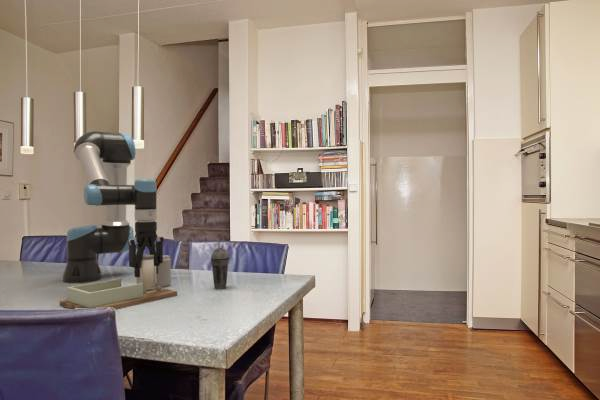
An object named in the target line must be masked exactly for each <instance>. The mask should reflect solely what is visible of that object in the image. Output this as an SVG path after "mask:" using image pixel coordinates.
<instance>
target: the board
mask: <svg viewBox="0 0 600 400" xmlns="http://www.w3.org/2000/svg"><path fill="white" fill-rule="evenodd" d="M176 296H178V291H177V290H173V289H168V288H165V287H161V286H156V285H154V288H152V289H143V297H138V298H134V299H129V300H124V301H120V302H115V303H110V304H105V305H101V306H96V307H113V308H116V309H115V310H118V309H117V308H119V309H123V308H122V307H124V308H127V306H128V307H132V305H133V306H135V305H136V304H137V305H141V303H142V304H145V302H146V303H150V302H154V301H158V300H163V299H167V298H173V297H176ZM137 305H136V306H137ZM59 306H60V307H63V308H67V309H69V310H72V309H75V308H88V307H84V306H81V305H78V304H75V303H72V302H69V301H67V299H63V300H59ZM96 307H91V308H96Z"/></svg>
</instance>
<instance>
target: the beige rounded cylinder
mask: <svg viewBox="0 0 600 400" xmlns="http://www.w3.org/2000/svg"><path fill="white" fill-rule="evenodd" d="M140 268H142V269H143V289H152V288H154V286H155V284H154V255H151V254H150V253H148V254H147V253H146V254H143V257H142V262H141V267H140Z"/></svg>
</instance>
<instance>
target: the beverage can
mask: <svg viewBox="0 0 600 400" xmlns="http://www.w3.org/2000/svg"><path fill="white" fill-rule="evenodd" d="M171 261H172V259H171V257H170V255H168V254H167V255H164V254H163V263H160V265H159V266H158V274H156V284H154V286H155V287H156V286H161V288H165V287H166V288H167V287H169V286H170V285H171V283H172V266H171V265H172V262H171Z"/></svg>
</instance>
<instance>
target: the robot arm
mask: <svg viewBox="0 0 600 400" xmlns="http://www.w3.org/2000/svg"><path fill="white" fill-rule="evenodd" d="M73 153H74V156H75V158H76V159H77V160H78V162H79V163H80V166H81V169H82V173H83V175H84V179H85V182H86V185H85V186H84V188H83V199H84V203H85V204H86V205H87V206H96V207H97V206H98V207H99V206H105V220H104V221H102V223H101V227H98V226H97V225H96V224H89V225H82V226H76V227H71V228H69V229H68V230H67V233H66V265H65V268H64V271H63V275H62V282H63V283H69V284H70V283H71V284H72V283H78V284H79V283H85V282H86V283H90V282H93V281H99V280H101V279H102V277H103V276H102V271H101V269H100V268H101V267H100V265H99V263H98V255H102V254H103V255H105V254H114V253H115V254H116V253H118V254H120V253H126V252H128V265H129V267H131V268H134V277H135V278H136V284H139V283H143V269H142V268H140V267H141V262H142V257H143V255H144V251H145V249H146V248H147V249H148V252H149V253H148V254H151V255H154V285H155V284H156V274H158V266H159V265H160V263H163V255H164V254H163V251H164V250H163V243H164V238H165V237H164V236H159V235H158V234H157V231H158V228H157V227H158V226H157V225H158V223H157V221H156V220H157V211H158V210H157V209H158V208H157V207H158V206H157V190H158V188H157V182H156V180H155V179H152V178H136V179H135V180H134V184H127V182H128V180H127V179H128V178H127V177H128V167H129V166H130V165H131V161H133V160H135V158H136V145H135V141H134V139H133V137H132V136H131V135H130V134H128V133H121V132H110V131H108V132H107V131H98V130H97V131H96V130H95V131H94V130H93V131H89V132H86V133H84V134H82V135H81V136H80V137H79V138H78V139H77V140H76V142H75V143H74V146H73ZM101 159H102V160H101ZM104 166H105V168H104ZM129 205H130V206H132V205H133V206H134V221H136V222H135V223H134V228H133V226H130V222H129V221H128V220H127V206H129ZM134 231H135V233H134ZM136 244H137V246H136Z"/></svg>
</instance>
